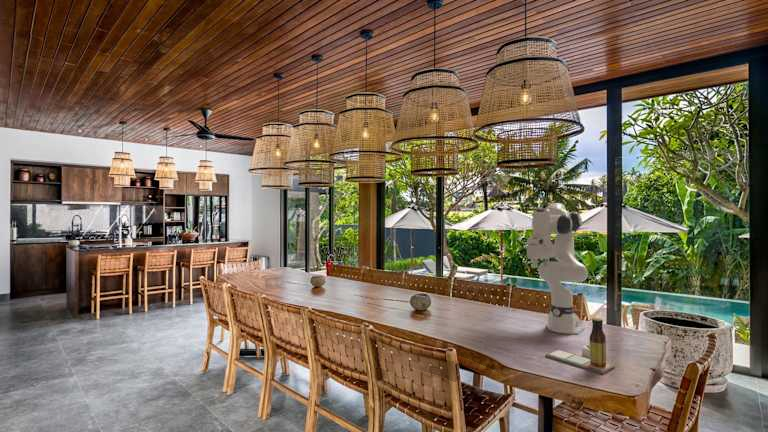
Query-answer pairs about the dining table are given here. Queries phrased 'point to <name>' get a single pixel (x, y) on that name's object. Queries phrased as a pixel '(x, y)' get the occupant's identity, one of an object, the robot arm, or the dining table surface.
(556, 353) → the game strip
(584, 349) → the pale notched block
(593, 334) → the sauce bottle
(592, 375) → the dining table surface
